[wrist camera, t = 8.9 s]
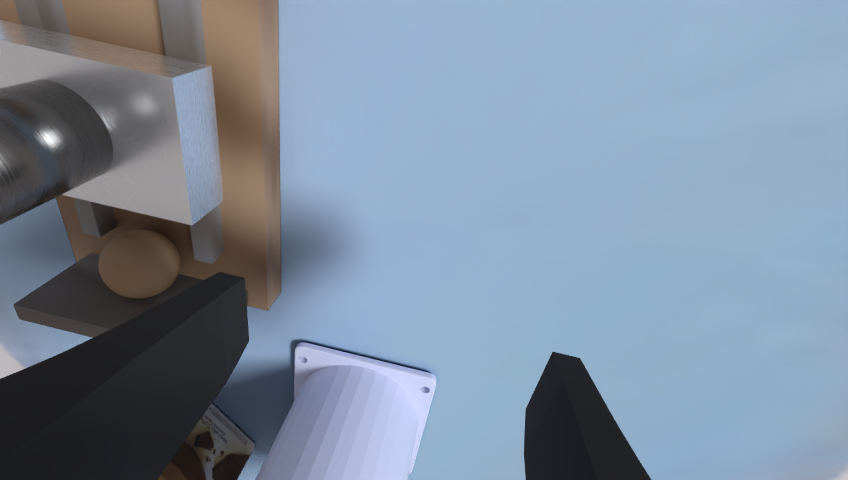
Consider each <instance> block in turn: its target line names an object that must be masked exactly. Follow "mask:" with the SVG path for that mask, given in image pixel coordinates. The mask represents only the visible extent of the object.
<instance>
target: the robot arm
mask: <svg viewBox="0 0 848 480" xmlns="http://www.w3.org/2000/svg"><path fill="white" fill-rule="evenodd" d="M248 342H249V333H248V318H247V303H246V288H245V278H243V277H239V276H235V275H231V274H227V273H223V272H218V273H216V274H215V275H213V276H211V277H209V278H207V279H205V280H203V281H201V282H199V283H197V284H196V285H194V286H192V287H190V288H188V289H186V290H185V291H183V292H181V293H179V294H177V295H175V296H174V297H172V298H170V299H168V300H166V301H164V302H162V303H161V304H159V305H157V306H155V307H153V308H151V309H149V310H147V311H145V312H144V313H142V314H140V315H138V316H136V317H134V318H132V319H130V320H129V321H127V322H125V323H123V324H121V325H119V326H117V327H114V328H112V329H110V330H108V331H106V332H104V333H102V334H100V335H98V336H96V337H94V338H92V339H90V340H88V341H86V342H84V343H82V344H79V345H77V346H75V347H73V348H71V349H69V350H67V351H65V352H63V353H60V354H58V355H56V356H54V357H52V358H49V359H47V360H45V361H42V362H40V363H38V364H35V365H33V366H31V367H28V368H26V369H23V370H21V371H19V372H16V373H14V374H11V375H9V376H6V377H4V378H1V379H0V480H158V478H159V477H160V475H161V474H162V472H163V471H164V469H165V468H166V466H167V465H168V464H169V462H170V461H171V459H172V458H173V457H174V455H175V454H176V452H177V451H178V450H179V448H180V447H181V445H182V444H183V443H184V441H185V440H186V438H187V437H188V436H189V434H190V433H191V431H192V430H193V429H194V427H195V426H196V424H197V423H198V422H199V420H200V419H201V417H202V416H203V415H204V413H205V412H206V410H207V409H208V408H209V406H210V405H211V403H212V402H213V400H214V399H215V398H216V396H217V395H218V393H219V392H220V391H221V389H222V388H223V386H224V385H225V383H226V382H227V380H228V379H229V377H230V375H231V373H232V372H233V370H234V368H235V366H236V365H237V363H238V361H239V359H240V357H241V355H242V353H243V351H244V349H245V347H246V346H247V344H248ZM436 382H437V379H436V377H435V376H434V375H433V374H431V373H428V372H423V371H419V370H415V369H411V368H407V367H403V366H399V365H395V364H391V363H387V362H383V361H379V360H375V359H370V358H366V357H362V356H358V355H354V354H350V353H346V352H342V351H338V350H334V349H330V348H326V347H322V346H317V345H313V344H309V343H304V342H302V343H299V344H298V345H297V347H296V348H295V365H294V403H293V405H292V407H291V409H290V411H289V413H288V415H287V417H286V419H285V421H284V423H283V425H282V427H281V429H280V431H279V433H278V435H277V437H276V439H275V441H274V443H273V445H272V447H271V449H270V451H269V453H268V455H267V457H266V459H265V461H264V463H263V465H262V467H261V469H260V471H259V473H258V475H257V477H256V479H255V480H407V479H408V474H409V473H411V472H412V469H413V466H414V462H415V459H416V455H417V451H418V448H419V444H420V441H421V437H422V433H423V430H424V426H425V423H426V419H427V416H428V412H429V408H430V405H431V401H432V398H433V394H434V391H435V387H436ZM426 387H427V388H426ZM524 460H525V474H526V480H651V479H650V477H649V475H648V474H647V472H646V471H645V469H644V468H643V466H642V464H641V463H640V461H639V460H638V458H637V456H636V455H635V453H634V451H633V450H632V448H631V446H630V445H629V443H628V441H627V440H626V438H625V437H624V435H623V433H622V432H621V430H620V428H619V426H618V425H617V423H616V421H615V420H614V418H613V416H612V414H611V413H610V411H609V409H608V407H607V406H606V404H605V402H604V400H603V398H602V397H601V395H600V393H599V391H598V390H597V388H596V386H595V384H594V382H593V381H592V379H591V377H590V375H589V373H588V372H587V370H586V368H585V366H584V365H583V363H582V361H581V359H580V358H577V357H573V356H569V355H564V354H560V353H556V352H552V354H551V356H550V359H549V361H548V363H547V365H546V367H545V369H544V371H543V374H542V376H541V378H540V380H539V382H538V384H537V386H536V388H535V391H534V393H533V395H532V397H531V399H530V401H529V403H528V405H527V408H526V416H525V439H524Z"/></svg>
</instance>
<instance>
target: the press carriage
mask: <svg viewBox="0 0 848 480" xmlns="http://www.w3.org/2000/svg"><path fill="white" fill-rule="evenodd" d="M60 195H65V196H69V197H74V198H78V199H82V200H86V201H91V202H95V203H99V204H103V205H108V206H112V207H116V208H120V209H125V210H129V211H133V212H137V213H142V214H146V215H150V216H154V217H159V218H163V219H167V220H171V221H176V222H180V223H184V224H188V225H193V224H195V223H196V222H197V221H198V220H200V219H201V218H202V217H204V216H205V215H206V214H207V213H209V212H210V211H211V210H212V209H214V208H215V207H216V206H217V205H219V204H220V203H221V202H222V201H224V199H223V188H222V176H221V165H220V154H219V143H218V132H217V120H216V109H215V98H214V87H213V75H212V66H210V65H205V64H201V63H196V62H192V61H187V60H182V59H178V58H173V57H169V56H164V55H159V54H155V53H150V52H146V51H141V50H137V49H132V48H127V47H123V46H118V45H114V44H109V43H104V42H100V41H95V40H91V39H86V38H81V37H77V36H72V35H68V34H63V33H58V32H54V31H49V30H45V29H40V28H35V27H31V26H26V25H22V24H17V23H13V22H8V21H3V20H0V225H1V224H3V223H5V222H7V221H9V220H11V219H13V218H15V217H17V216H19V215H21V214H23V213H25V212H27V211H29V210H31V209H33V208H35V207H37V206H39V205H41V204H43V203H45V202H47V201H49V200H51V199H54V198H56V197H58V196H60Z"/></svg>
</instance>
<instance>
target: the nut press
mask: <svg viewBox="0 0 848 480" xmlns="http://www.w3.org/2000/svg"><path fill="white" fill-rule="evenodd" d="M0 20H3V21H8V22H13V23H17V24H22V25H26V26H31V27H35V28H40V29H45V30H49V31H54V32H58V33H63V34H68V35H72V36H77V37H81V38H86V39H91V40H95V41H100V42H104V43H109V44H114V45H118V46H123V47H127V48H132V49H137V50H141V51H146V52H150V53H155V54H159V55H164V56H169V57H173V58H178V59H182V60H187V61H192V62H196V63H201V64H205V65H210V66H212V75H213V87H214V98H215V109H216V120H217V132H218V143H219V154H220V165H221V176H222V188H223V199H224V201H222V202H221V203H220V204H219V205H217V206H216V207H215V208H214V209H212V210H211V211H210V212H209V213H207V214H206V215H205V216H204V217H202V218H201V219H200V220H198V221H197V222H196V223H195V224H193V225H188V224H184V223H180V222H176V221H171V220H167V219H163V218H159V217H154V216H150V215H146V214H142V213H137V212H133V211H129V210H125V209H120V208H116V207H112V206H108V205H103V204H99V203H95V202H91V201H86V200H82V199H78V198H74V197H69V196H65V195H60V196H58V197H56V200H57V203H58V206H59V209H60V212H61V215H62V218H63V222H64V225H65V228H66V231H67V234H68V237H69V240H70V243H71V246H72V249H73V253H74V256H75V259H76V263H75V264H73V265H72V266H70V267H69V268H68V269H66V270H65V271H63V272H62V273H60V274H59V275H57V276H56V277H54V278H53V279H51V280H50V281H48V282H47V283H45V284H44V285H42V286H41V287H39V288H38V289H36V290H35V291H33V292H32V293H30V294H29V295H27V296H26V297H24V298H23V299H21V300H20V301H18V302H17V303H15V304H14V305H13V306H14V308H15V310H16V312H17V315H18V317H19V319H21V320H25V321H29V322H33V323H37V324H41V325H45V326H49V327H53V328H57V329H61V330H65V331H69V332H73V333H77V334H81V335H85V336H89V337H93V338H94V337H96V336H98V335H100V334H102V333H104V332H106V331H108V330H110V329H112V328H114V327H117V326H119V325H121V324H123V323H125V322H127V321H129V320H130V319H132V318H134V317H136V316H138V315H140V314H142V313H144V312H145V311H147V310H149V309H151V308H153V307H155V306H157V305H159V304H161V303H162V302H164V301H166V300H168V299H170V298H172V297H174V296H175V295H177V294H179V293H181V292H183V291H185V290H186V289H188V288H190V287H192V286H194V285H196V284H197V283H199V282H201V281H203V280H205V279H207V278H209V277H211V276H213V275H215V274H216V273H218V272H223V273H227V274H231V275H235V276H239V277H243V278H245V288H246V303H247V306H251V307H255V308H259V309H263V310H267V311H268V310H269V308H270V307H271V306H272V304H273V303H274V301H275V300H276V299H277V297H278V296H279V294H280V293H281V228H280V130H279V32H278V0H0Z"/></svg>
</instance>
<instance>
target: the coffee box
mask: <svg viewBox="0 0 848 480" xmlns="http://www.w3.org/2000/svg"><path fill="white" fill-rule="evenodd" d="M254 448H255V444H254V442H252V441H251V440H250V439H249V438H248V437H247V436H246V435H245V434H244V433H243V432H242V431H241V430H240V429H239V428H238V427H236V426H235V425H234V424H233V423H232V422H231V421H230V420H229V419H228V418H227V417H226V416H225V415H224V414H223V413H222V412H221V411H220V410H219V409H218V408H217V407H215V406H214V405H213V404H212V403H211V405H210V406H209V408H208V409H207V410H206V412H205V413H204V415H203V416H202V417H201V419H200V420H199V422H198V423H197V424H196V426H195V427H194V429H193V430H192V431H191V433H190V434H189V436H188V437H187V438H186V440H185V441H184V443H183V444H182V445H181V447H180V448H179V450H178V451H177V452H176V454H175V455H174V457H173V458H172V459H171V461H170V462H169V464H168V465H167V466H166V468H165V469H164V471H163V472H162V474H161V475H160V477H159V478H158V480H237V479H238V477H239V475H240V473H241V471H242V470H243V468H244V466H245V464H246V462H247V460H248V459H249V457H250V455H251V453H252V451H253V450H254Z"/></svg>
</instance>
